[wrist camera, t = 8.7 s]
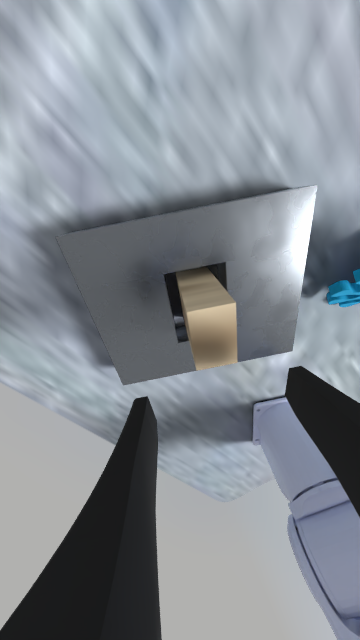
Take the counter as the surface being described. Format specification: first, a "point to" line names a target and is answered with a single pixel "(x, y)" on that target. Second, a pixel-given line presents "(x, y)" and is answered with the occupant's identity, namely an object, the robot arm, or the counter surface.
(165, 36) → the counter surface
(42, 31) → the counter surface
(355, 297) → the blue irregular piece
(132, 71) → the counter surface
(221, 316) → the tan wooden beam
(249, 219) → the gray slab with hole
